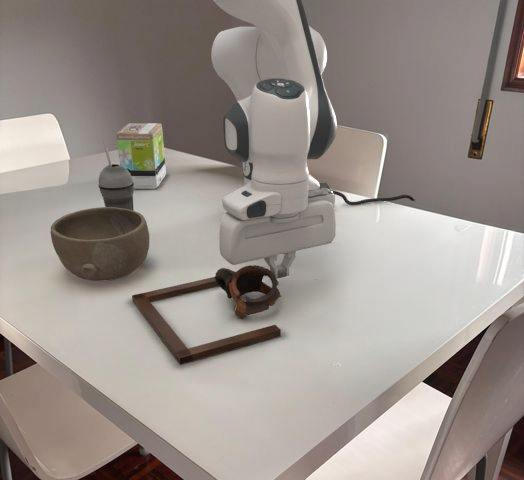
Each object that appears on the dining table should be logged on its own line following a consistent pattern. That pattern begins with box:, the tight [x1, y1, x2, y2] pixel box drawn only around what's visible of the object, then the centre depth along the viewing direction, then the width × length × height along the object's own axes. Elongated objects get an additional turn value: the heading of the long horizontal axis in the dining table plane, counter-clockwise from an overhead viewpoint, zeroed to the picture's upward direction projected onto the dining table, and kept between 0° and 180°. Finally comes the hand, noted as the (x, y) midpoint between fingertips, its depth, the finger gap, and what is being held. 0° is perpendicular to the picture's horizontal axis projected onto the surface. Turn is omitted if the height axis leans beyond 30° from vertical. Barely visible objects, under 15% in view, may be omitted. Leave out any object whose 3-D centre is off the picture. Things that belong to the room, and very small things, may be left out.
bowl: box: [50, 206, 150, 282], centre depth 105 cm, size 17×18×10 cm
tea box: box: [115, 122, 167, 190], centre depth 156 cm, size 15×10×15 cm, turn 179°
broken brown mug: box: [214, 264, 282, 319], centre depth 94 cm, size 12×10×8 cm
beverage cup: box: [98, 141, 135, 211], centre depth 118 cm, size 7×7×20 cm
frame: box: [131, 276, 282, 366], centre depth 91 cm, size 16×23×1 cm
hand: (279, 276), depth 95 cm, fingers closed
